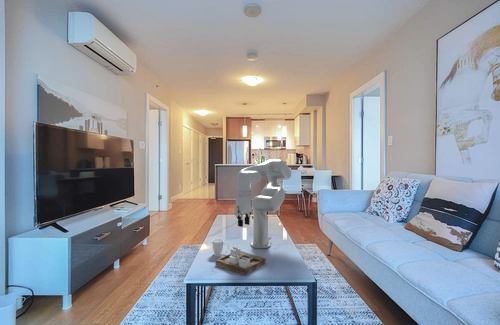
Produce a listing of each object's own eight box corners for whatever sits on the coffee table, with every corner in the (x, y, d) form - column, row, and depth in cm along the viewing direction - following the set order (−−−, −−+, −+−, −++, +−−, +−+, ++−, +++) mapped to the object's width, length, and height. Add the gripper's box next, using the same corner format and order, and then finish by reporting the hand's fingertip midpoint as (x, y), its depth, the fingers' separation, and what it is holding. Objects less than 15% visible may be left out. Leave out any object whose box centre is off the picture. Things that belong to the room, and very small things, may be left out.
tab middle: (234, 261, 128) (234, 252, 128) (239, 263, 126) (239, 254, 126) (229, 264, 125) (229, 254, 125) (234, 266, 123) (234, 256, 123)
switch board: (238, 254, 142) (238, 249, 142) (265, 263, 131) (265, 258, 130) (215, 265, 128) (215, 259, 128) (243, 276, 116) (243, 269, 116)
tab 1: (235, 254, 138) (235, 245, 138) (240, 255, 136) (240, 247, 136) (230, 256, 135) (230, 247, 135) (235, 258, 133) (235, 249, 133)
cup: (213, 251, 147) (213, 238, 147) (230, 252, 146) (230, 239, 145) (210, 256, 140) (210, 241, 140) (227, 257, 139) (227, 242, 139)
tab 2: (244, 265, 124) (244, 255, 124) (249, 267, 122) (249, 257, 122) (239, 268, 121) (239, 258, 121) (244, 270, 119) (244, 260, 119)
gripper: (248, 191, 150) (247, 221, 150) (228, 194, 136) (228, 227, 137) (258, 192, 145) (258, 223, 145) (239, 195, 132) (238, 229, 132)
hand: (243, 225), depth 141 cm, fingers open, 5 cm apart
